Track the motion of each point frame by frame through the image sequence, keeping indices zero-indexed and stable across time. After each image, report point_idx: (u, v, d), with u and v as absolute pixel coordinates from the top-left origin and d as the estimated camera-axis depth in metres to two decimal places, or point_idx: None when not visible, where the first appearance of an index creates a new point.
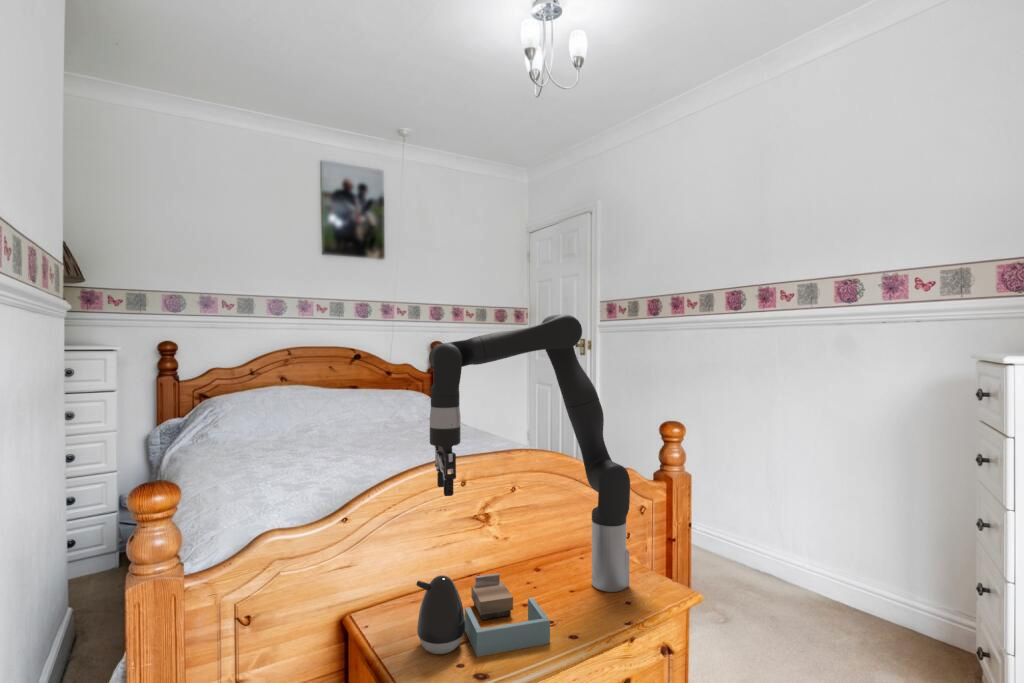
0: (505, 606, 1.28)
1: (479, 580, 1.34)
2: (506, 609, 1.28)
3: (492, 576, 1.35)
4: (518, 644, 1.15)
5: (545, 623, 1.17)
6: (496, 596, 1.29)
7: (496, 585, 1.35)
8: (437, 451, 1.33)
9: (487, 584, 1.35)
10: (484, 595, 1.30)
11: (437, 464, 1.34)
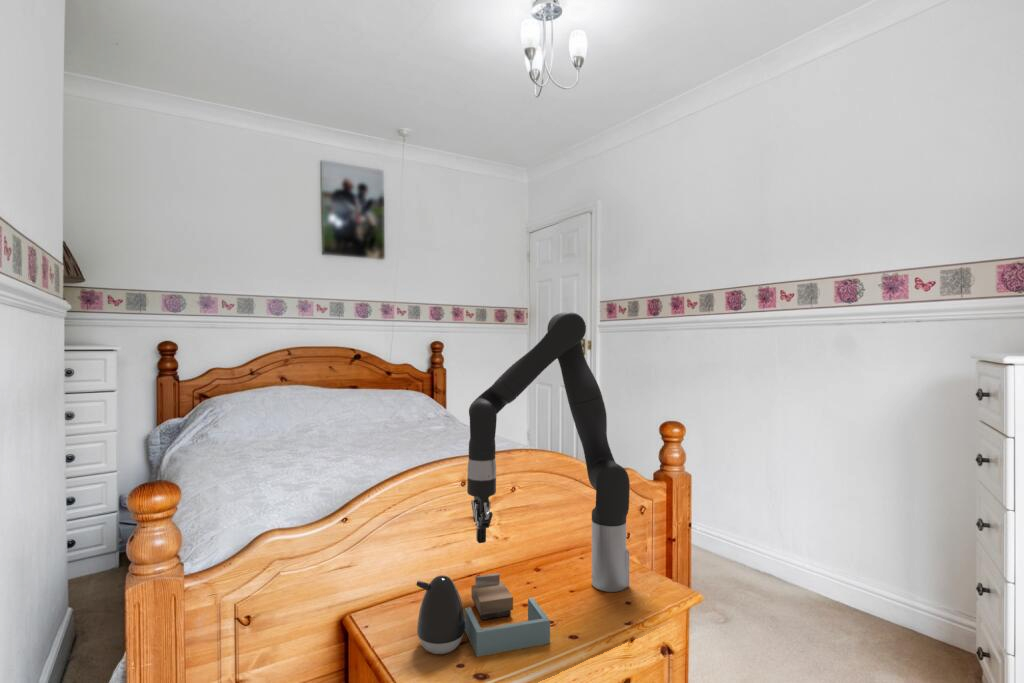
0: (505, 606, 1.28)
1: (479, 580, 1.34)
2: (506, 609, 1.28)
3: (492, 576, 1.35)
4: (518, 644, 1.15)
5: (545, 623, 1.17)
6: (496, 596, 1.29)
7: (496, 585, 1.35)
8: (473, 500, 1.42)
9: (487, 584, 1.35)
10: (484, 595, 1.30)
11: (475, 515, 1.41)
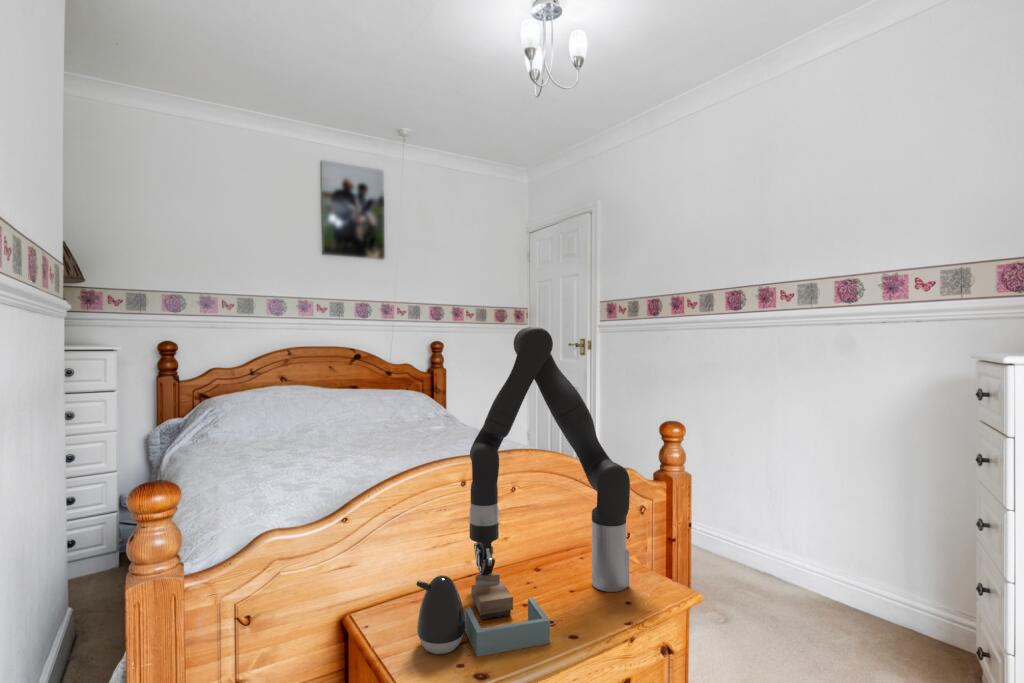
0: (505, 606, 1.28)
1: (479, 579, 1.34)
2: (506, 609, 1.28)
3: (492, 576, 1.35)
4: (518, 644, 1.15)
5: (545, 623, 1.17)
6: (496, 596, 1.29)
7: (496, 585, 1.35)
8: (476, 544, 1.40)
9: (487, 584, 1.35)
10: (484, 595, 1.30)
11: None
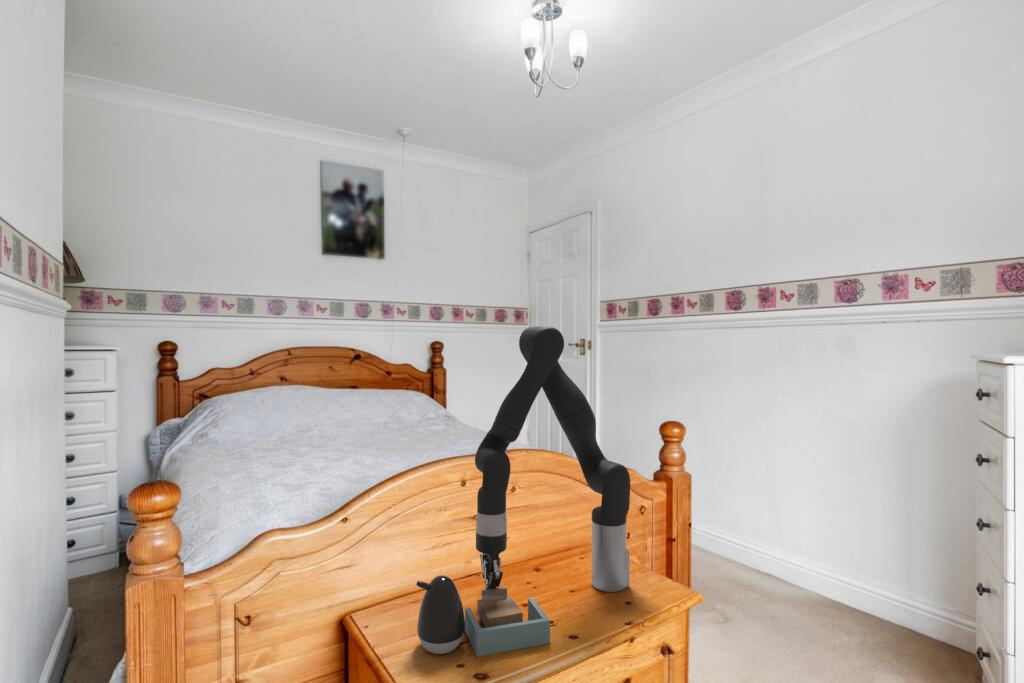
0: (514, 622, 1.20)
1: (486, 594, 1.26)
2: None
3: (499, 590, 1.28)
4: (518, 644, 1.15)
5: (545, 623, 1.17)
6: (505, 612, 1.21)
7: (503, 599, 1.27)
8: None
9: (494, 598, 1.27)
10: (491, 610, 1.22)
11: (484, 572, 1.31)
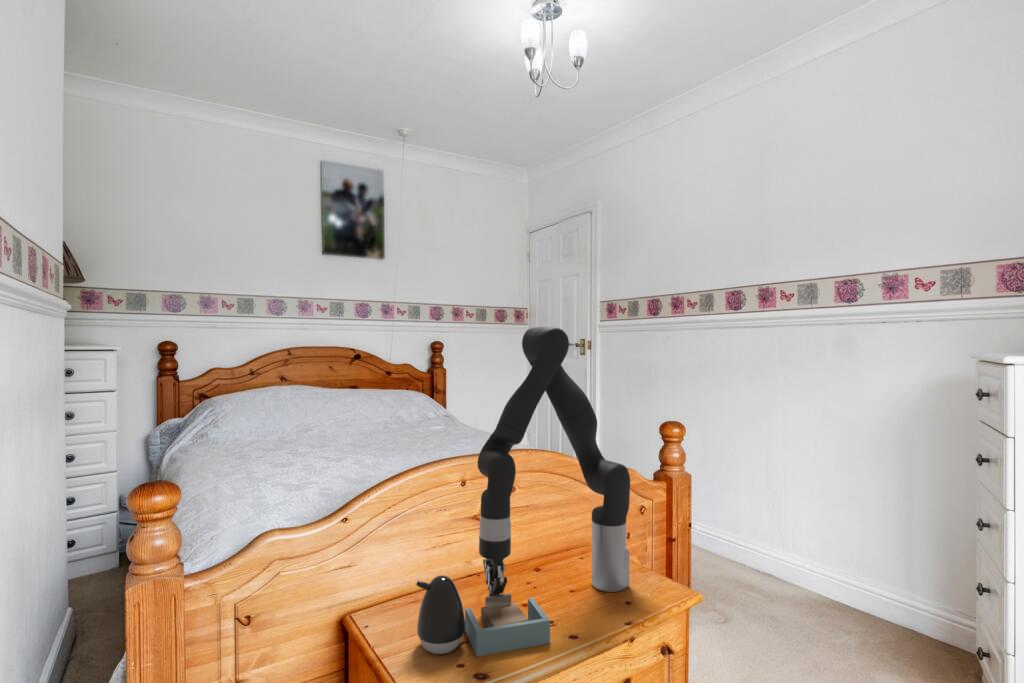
0: None
1: (490, 601, 1.23)
2: None
3: (503, 596, 1.24)
4: (518, 644, 1.15)
5: (545, 623, 1.17)
6: (511, 619, 1.18)
7: (508, 606, 1.24)
8: (486, 560, 1.29)
9: (498, 605, 1.24)
10: (497, 618, 1.18)
11: None
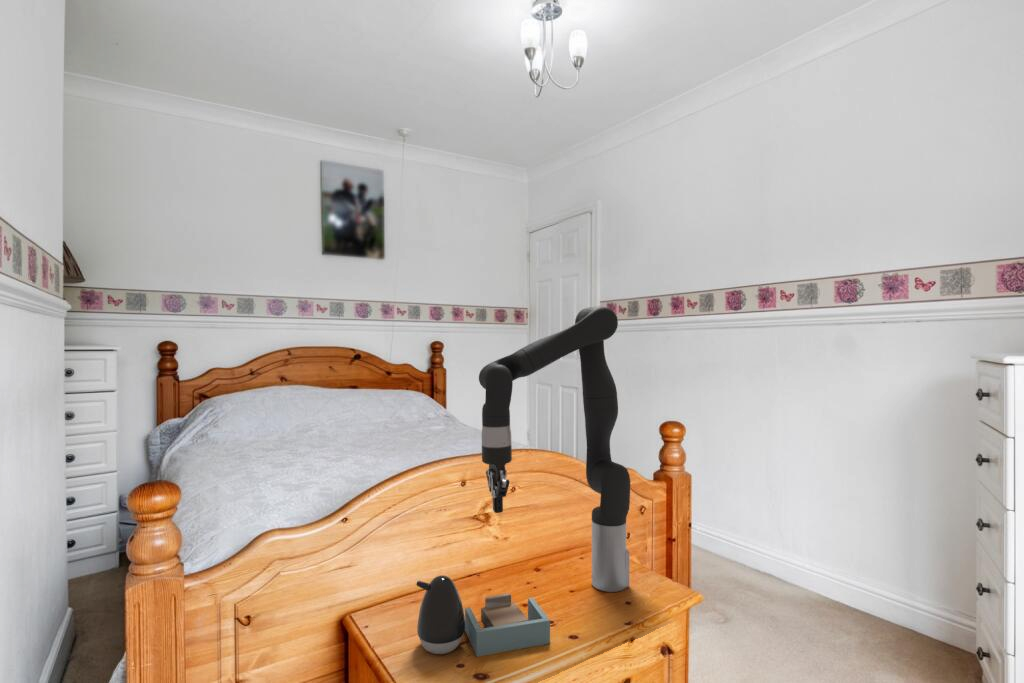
0: None
1: (490, 601, 1.23)
2: None
3: (503, 596, 1.24)
4: (518, 644, 1.15)
5: (545, 623, 1.17)
6: (511, 619, 1.18)
7: (508, 606, 1.24)
8: (488, 469, 1.37)
9: (498, 605, 1.24)
10: (497, 618, 1.18)
11: None
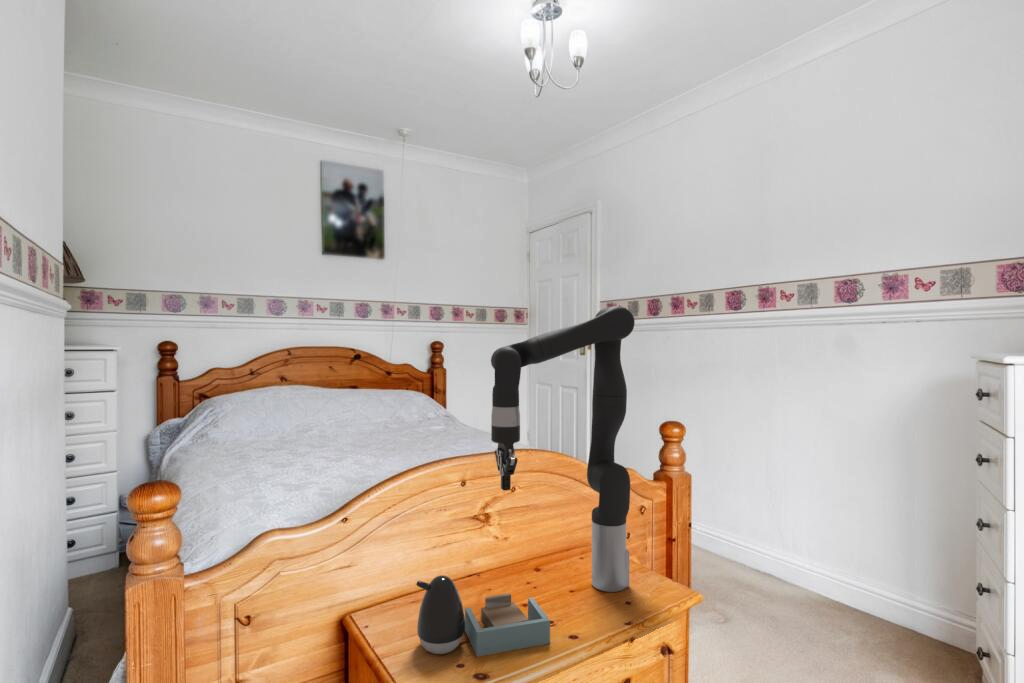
0: None
1: (490, 601, 1.23)
2: None
3: (503, 596, 1.24)
4: (518, 644, 1.15)
5: (545, 623, 1.17)
6: (511, 619, 1.18)
7: (508, 606, 1.24)
8: (497, 448, 1.42)
9: (498, 605, 1.24)
10: (497, 618, 1.18)
11: None
